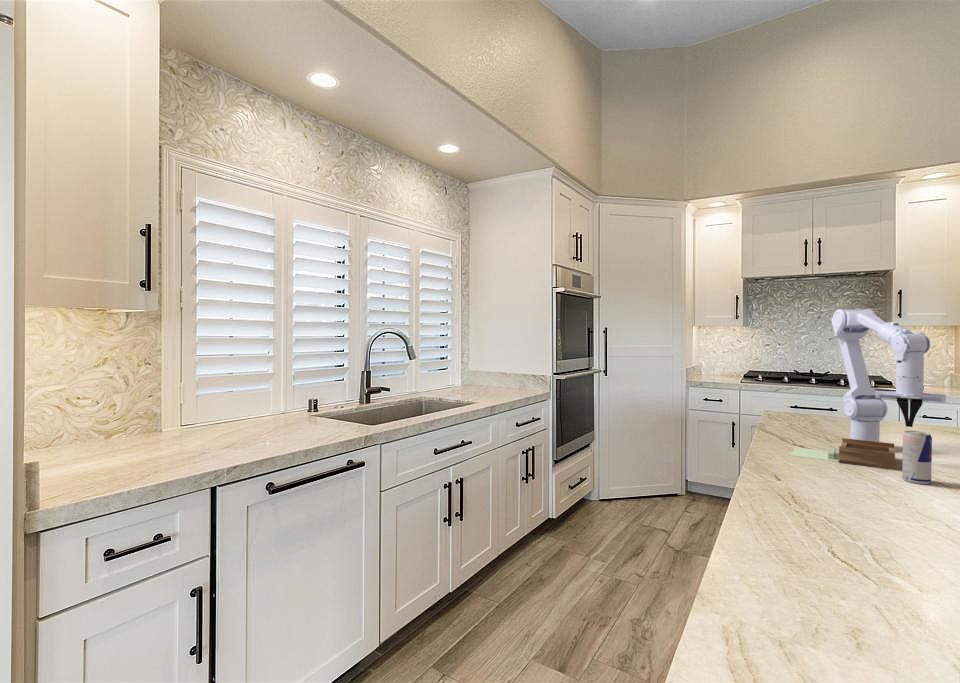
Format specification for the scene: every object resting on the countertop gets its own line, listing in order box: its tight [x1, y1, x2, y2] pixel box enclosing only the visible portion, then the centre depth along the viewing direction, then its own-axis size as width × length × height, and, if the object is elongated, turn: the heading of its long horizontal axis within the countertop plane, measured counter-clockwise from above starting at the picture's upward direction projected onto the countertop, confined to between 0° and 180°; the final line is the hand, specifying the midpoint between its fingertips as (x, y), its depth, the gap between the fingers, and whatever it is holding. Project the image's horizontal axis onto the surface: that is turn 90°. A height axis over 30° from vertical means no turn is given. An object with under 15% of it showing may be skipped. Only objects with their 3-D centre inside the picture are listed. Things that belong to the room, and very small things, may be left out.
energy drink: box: [901, 430, 933, 485], centre depth 122 cm, size 5×5×12 cm
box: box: [838, 437, 896, 471], centre depth 141 cm, size 14×12×4 cm
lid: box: [789, 446, 839, 463], centre depth 148 cm, size 12×12×2 cm
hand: (908, 426), depth 137 cm, fingers closed
